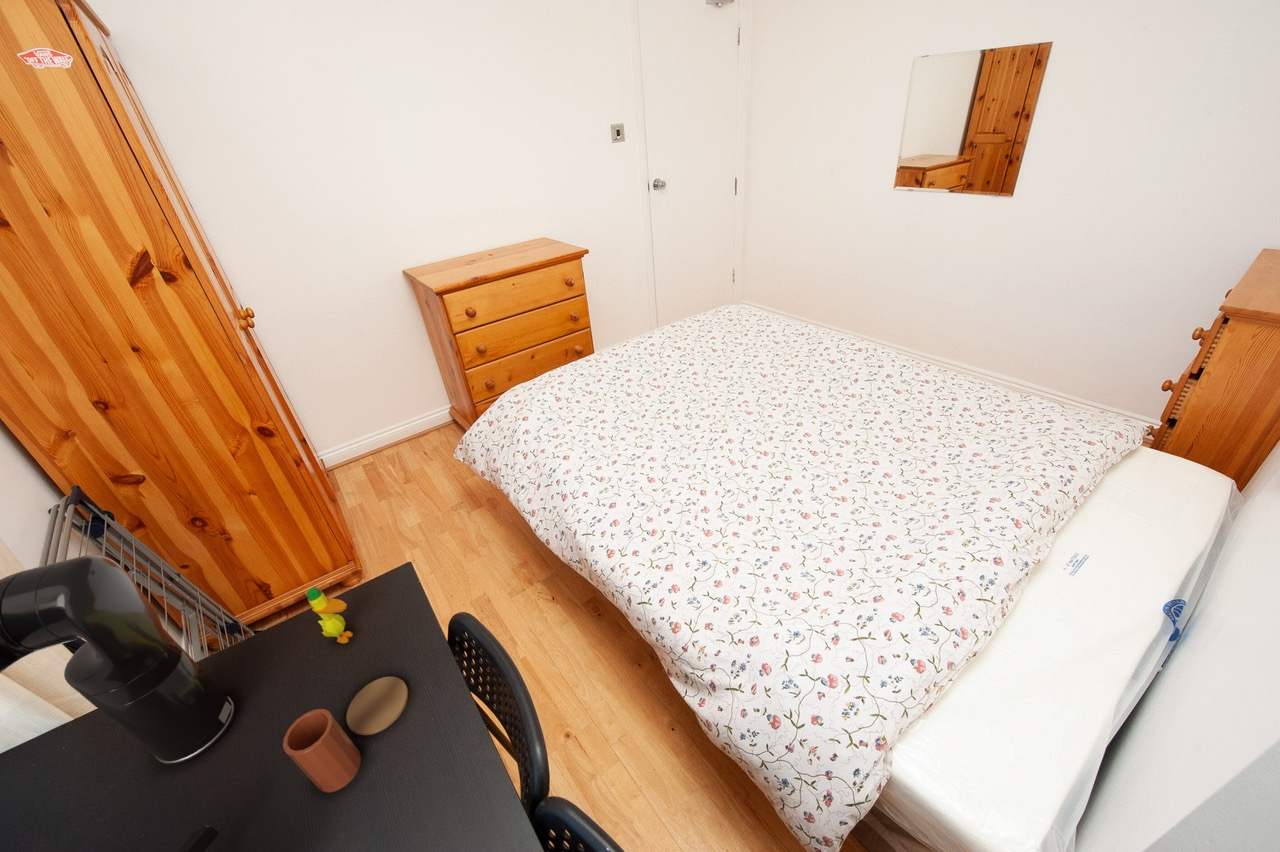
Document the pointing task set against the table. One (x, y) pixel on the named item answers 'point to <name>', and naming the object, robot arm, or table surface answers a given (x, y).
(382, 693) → the trivet
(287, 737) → the pot
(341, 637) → the toy figure
